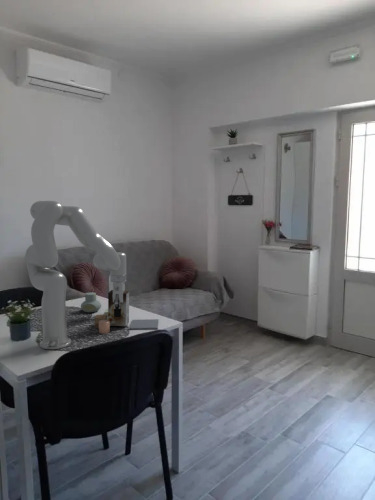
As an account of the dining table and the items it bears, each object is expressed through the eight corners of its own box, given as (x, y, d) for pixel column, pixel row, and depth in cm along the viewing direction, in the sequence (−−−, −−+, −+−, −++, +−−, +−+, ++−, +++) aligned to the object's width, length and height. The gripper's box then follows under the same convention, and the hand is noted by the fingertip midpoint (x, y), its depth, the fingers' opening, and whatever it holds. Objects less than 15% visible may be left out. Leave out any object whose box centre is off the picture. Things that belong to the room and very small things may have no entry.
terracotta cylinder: (109, 333, 177) (108, 323, 177) (97, 333, 177) (97, 323, 177) (110, 330, 182) (110, 319, 182) (99, 330, 182) (99, 319, 181)
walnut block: (105, 327, 186) (105, 317, 186) (95, 327, 186) (94, 317, 185) (107, 324, 191) (107, 314, 190) (97, 324, 191) (96, 314, 190)
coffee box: (107, 325, 186) (107, 292, 184) (111, 321, 192) (111, 289, 190) (126, 326, 185) (126, 293, 183) (129, 322, 191) (129, 290, 189)
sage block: (114, 321, 195) (114, 312, 195) (104, 321, 195) (104, 312, 194) (115, 318, 200) (115, 309, 200) (106, 318, 200) (105, 309, 199)
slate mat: (157, 329, 183) (157, 327, 183) (129, 329, 183) (129, 328, 183) (158, 320, 196) (158, 319, 196) (132, 321, 196) (132, 319, 196)
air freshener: (79, 313, 210) (78, 295, 209) (83, 309, 218) (82, 291, 217) (99, 313, 210) (98, 295, 208) (102, 309, 218) (102, 291, 217)
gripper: (124, 281, 177) (124, 319, 179) (128, 275, 195) (128, 310, 197) (107, 281, 177) (107, 319, 179) (113, 275, 194) (113, 310, 196)
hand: (118, 314), depth 188 cm, fingers closed on coffee box, 6 cm apart
